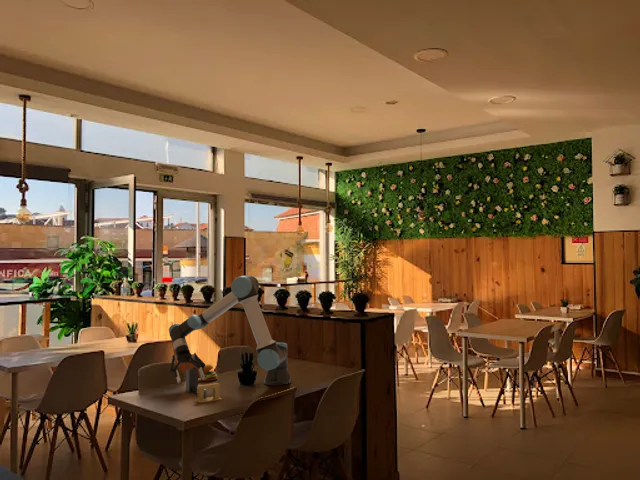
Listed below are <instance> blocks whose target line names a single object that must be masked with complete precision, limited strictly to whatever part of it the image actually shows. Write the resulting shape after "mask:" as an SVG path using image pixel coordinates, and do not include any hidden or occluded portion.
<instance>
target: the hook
mask: <svg viewBox="0 0 640 480" xmlns="http://www.w3.org/2000/svg"><path fill="white" fill-rule="evenodd" d="M198 369H199V368H197V367H196V368H195V367H193V368H192V367H191V368H186V369H185V392H186V393H188V394H193V393H196V394H197V386H199V375H198ZM207 390H208V389H207V388H204V398H206V397H207V393H208V392H207Z"/></svg>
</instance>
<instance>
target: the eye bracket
mask: <svg viewBox="0 0 640 480" xmlns="http://www.w3.org/2000/svg"><path fill="white" fill-rule="evenodd" d="M207 388H208V389H209V388H212V396H210V397H204V389H207ZM196 394H197V395H196V397H197V398H196V399H194V401H195V402H196V403H198V404H202V403H203V404H204V403H209V402H214V401H215V402H216V401H221V400H223V399H222V397H220V383H218V382H213V383H207V384H200V385H199V384H198V386H197V393H196Z"/></svg>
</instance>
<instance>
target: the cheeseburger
mask: <svg viewBox="0 0 640 480" xmlns="http://www.w3.org/2000/svg"><path fill="white" fill-rule="evenodd" d="M197 369H198V377H199V379H200V380H201V381H202V382H210V381H214V380H216V379H218V378H219V377H218V374H217V373H216V371H214V370H212V369H213V366H212V365H211V364H206V366H205V368H203V369H204V376H205V377H204V379H203V380H202V378H201V375H200V372H199V368H197ZM211 370H212V371H211Z"/></svg>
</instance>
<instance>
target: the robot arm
mask: <svg viewBox="0 0 640 480" xmlns="http://www.w3.org/2000/svg"><path fill="white" fill-rule="evenodd" d="M230 286H231V287H230V289H231V290H230V292H229V293H228V294H226V295H225V296H223V297H222V298H221V299H219V300H218V301H216V302H215V303H213V304H212V305H211V306H209V307H208V308H207V309H205V310H204V311H203V312H201V313H200V314H198V315H196V314H192V315H191V316H188V318H187V319H185V320H184V321H182V322H181V323H174V324H172V325H170V327H169V328H168V332H169V337H170V340H171V342H172V346H173V349H174V352H175V355H172V356H171V363H170V366H169V370H168V371H169V373H172V375H173V376H174V378H175V379H176V381H177V384H180V383H181V376H180V374H179V370H178V368H179V366H180V365H181V364H188V363H189V364H192V365H193V366H194V367H196V369H199V372H200V375H201V378H202V380H203V379H204V377H205V376H204V369H203V368H205V366H206V365H207V364H206V363H205V362H204V361H203V360H202V359H201V358H200V357H199V356H198V355H197V353H196V352H194V353H192V354H191V351H190V348H189V345H188V342H187V339H186V337H187V336H189V335H190V334H191V333H192V332H194V331H198V330H200V329H201V330H203V329H205V328H206V327H208V325H209V324H211V322H213V321H214V320H216V319H217V318H218V317H220V316H221V315H223V314H224V313H226V312H227V311H228V310H230V309H232V307H234V306H235V305H237V304H238V303H239V304H241V305H242V307H243V309H244V312H245V314H246V317H247V321H248V323H249V326H250V328H251V331H252V334H253V337H254V339H255V342H256V345H257V346H256V348H255V350H256V353H257V359H256V360H257V361H256V362H257V364H258V365H259V367H260V368H261V369H263V370H266V373H265V376H264V379H263V381H264V382H263V383H264V385H268V386H284V385H283V384H286V385H288V384H287V383H289V382H290V381H291V379H292V378H291V376H290V372H289V370H288V344H287V343H286V342H277V341H276V340H274V339H273V338H272V335H271V333H270V331H269V327H268V325H267V322H266V320H265V317H264V315H263V312H262V309H261V306H260V304H259V300H258V297H259V293H258V292H259V288H260V282H259V281H258V279H257V277H255V276H253V275H249V274H248V275H240V276H238V277H236V278H235V279H233V281H232V282H231V285H230ZM177 360H178V362H177V363H176V365H175V361H177ZM174 365H175V367H174ZM201 378H200V379H201ZM202 380H201V381H202ZM291 382H292V381H291ZM289 384H290V383H289Z"/></svg>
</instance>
